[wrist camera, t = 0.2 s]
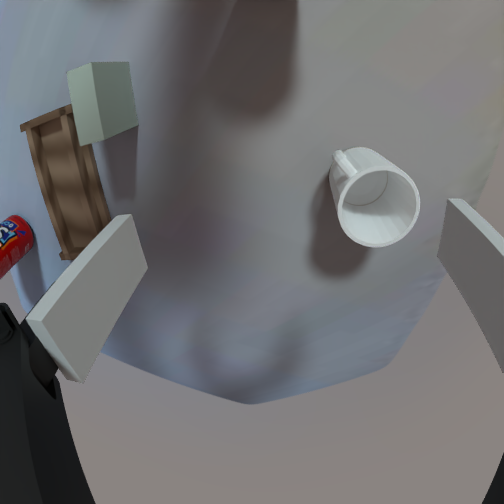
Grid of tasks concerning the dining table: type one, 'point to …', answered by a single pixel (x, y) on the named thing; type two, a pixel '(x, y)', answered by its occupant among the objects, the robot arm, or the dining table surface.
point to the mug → (372, 197)
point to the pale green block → (102, 100)
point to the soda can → (13, 242)
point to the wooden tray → (67, 180)
